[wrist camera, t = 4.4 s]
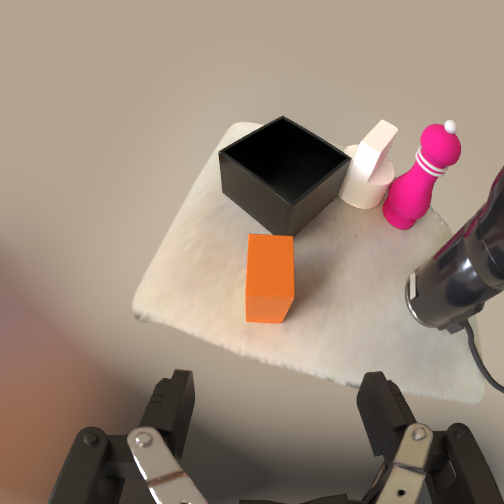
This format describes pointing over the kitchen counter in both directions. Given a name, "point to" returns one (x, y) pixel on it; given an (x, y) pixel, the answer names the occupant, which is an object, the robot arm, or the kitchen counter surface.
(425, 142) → the pepper mill
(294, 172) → the bin
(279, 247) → the orange rectangular block
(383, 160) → the cylinder with rectangular tab
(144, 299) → the kitchen counter surface
